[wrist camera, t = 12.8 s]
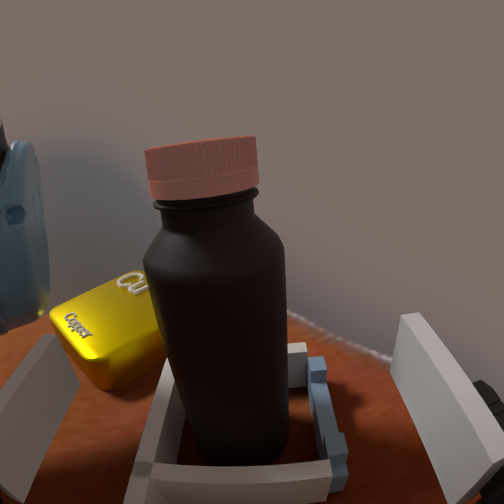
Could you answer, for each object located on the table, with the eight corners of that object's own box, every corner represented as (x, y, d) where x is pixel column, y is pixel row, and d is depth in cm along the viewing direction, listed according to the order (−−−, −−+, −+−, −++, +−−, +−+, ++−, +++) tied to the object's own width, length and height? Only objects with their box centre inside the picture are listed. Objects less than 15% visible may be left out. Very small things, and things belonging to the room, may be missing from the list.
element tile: (56, 339, 34) (42, 307, 32) (144, 294, 44) (136, 264, 43) (107, 400, 25) (88, 362, 23) (216, 328, 35) (210, 291, 34)
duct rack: (129, 635, 5) (95, 633, 3) (179, 382, 27) (169, 349, 25) (366, 640, 4) (386, 644, 3) (318, 375, 26) (319, 340, 25)
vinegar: (189, 469, 18) (92, 159, 10) (205, 403, 24) (156, 146, 17) (288, 474, 17) (277, 135, 10) (288, 404, 23) (277, 133, 16)
